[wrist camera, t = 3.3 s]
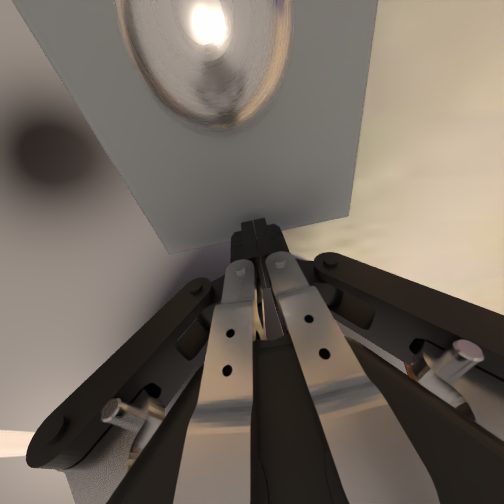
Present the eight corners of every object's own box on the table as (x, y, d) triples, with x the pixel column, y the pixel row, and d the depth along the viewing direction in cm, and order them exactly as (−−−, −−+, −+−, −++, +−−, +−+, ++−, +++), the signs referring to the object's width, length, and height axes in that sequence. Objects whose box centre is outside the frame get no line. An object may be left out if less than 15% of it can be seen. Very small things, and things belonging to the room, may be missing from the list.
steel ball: (122, -25, 6) (-54, -234, 2) (267, -70, 6) (330, -390, 2) (184, 141, 9) (149, 166, 6) (282, 116, 9) (318, 124, 5)
